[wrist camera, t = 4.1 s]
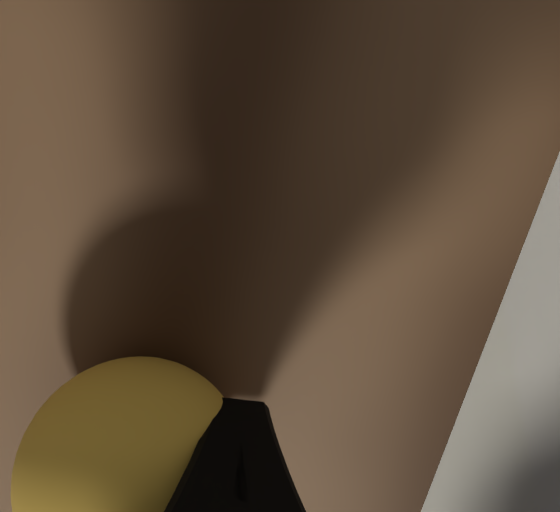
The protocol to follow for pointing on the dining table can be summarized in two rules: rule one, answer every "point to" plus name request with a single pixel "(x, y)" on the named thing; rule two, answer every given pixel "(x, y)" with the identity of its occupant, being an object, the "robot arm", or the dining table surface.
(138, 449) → the ball
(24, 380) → the hole plate
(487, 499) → the dining table surface
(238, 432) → the robot arm
